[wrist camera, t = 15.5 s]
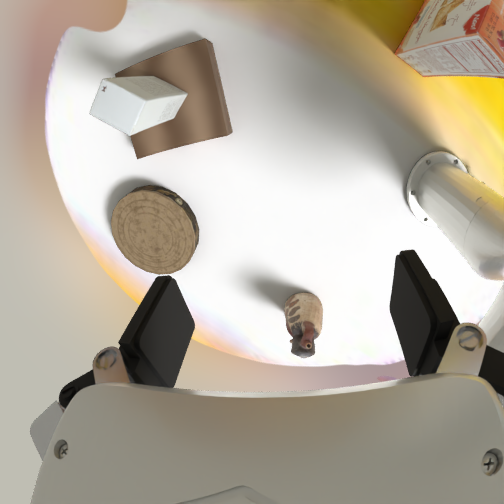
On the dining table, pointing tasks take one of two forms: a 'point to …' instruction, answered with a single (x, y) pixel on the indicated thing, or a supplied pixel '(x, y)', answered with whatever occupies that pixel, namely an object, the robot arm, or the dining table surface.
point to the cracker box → (456, 39)
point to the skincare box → (136, 102)
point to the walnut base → (195, 104)
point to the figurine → (303, 322)
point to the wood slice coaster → (155, 229)
